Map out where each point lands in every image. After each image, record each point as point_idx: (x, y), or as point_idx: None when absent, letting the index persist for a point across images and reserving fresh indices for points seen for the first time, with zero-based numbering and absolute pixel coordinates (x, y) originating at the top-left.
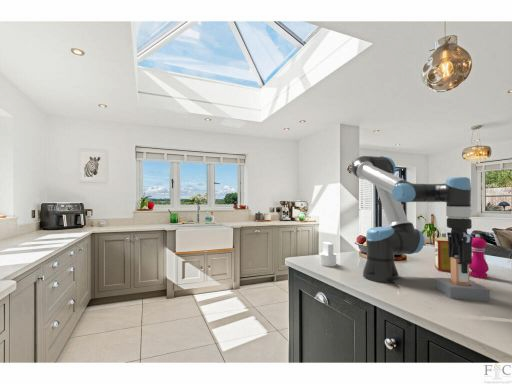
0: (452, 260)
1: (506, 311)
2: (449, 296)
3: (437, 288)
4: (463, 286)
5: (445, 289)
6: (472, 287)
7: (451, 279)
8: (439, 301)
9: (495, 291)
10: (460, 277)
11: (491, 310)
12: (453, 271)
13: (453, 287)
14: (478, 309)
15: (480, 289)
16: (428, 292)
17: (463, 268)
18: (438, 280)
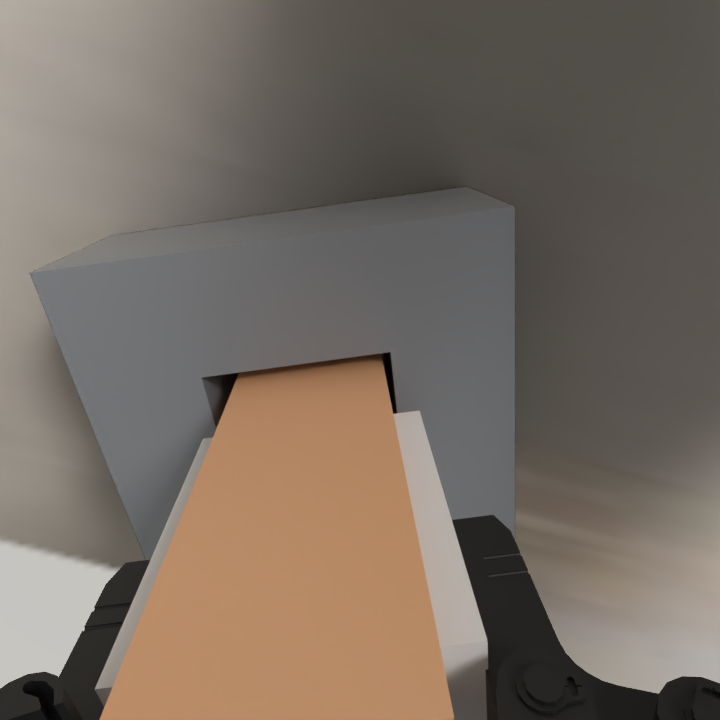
0: (320, 656)
1: (84, 557)
2: (111, 241)
3: (426, 196)
4: (160, 435)
5: (196, 237)
6: (171, 508)
7: (366, 381)
8: (30, 110)
9: (554, 630)
10: (189, 485)
11: (43, 481)
12: (296, 471)
13: (49, 313)
14: (4, 404)
15: (148, 553)
16: (336, 63)
17: (80, 649)
18: (408, 217)
